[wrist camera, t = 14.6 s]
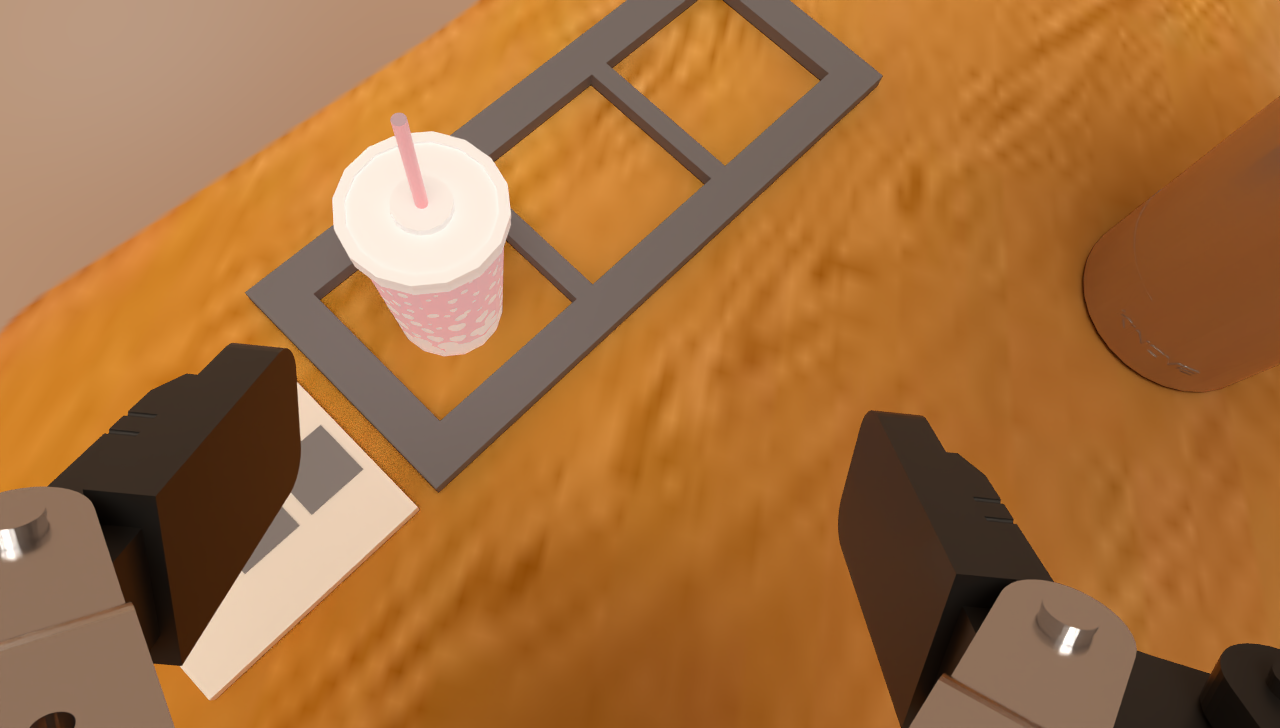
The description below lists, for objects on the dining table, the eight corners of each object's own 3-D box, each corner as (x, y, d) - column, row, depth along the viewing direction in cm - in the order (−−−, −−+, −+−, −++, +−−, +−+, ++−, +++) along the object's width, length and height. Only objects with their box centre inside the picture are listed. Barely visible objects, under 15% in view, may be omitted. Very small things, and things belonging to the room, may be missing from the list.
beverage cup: (537, 349, 38) (530, 180, 25) (400, 390, 37) (317, 236, 24) (496, 231, 40) (470, 15, 27) (364, 266, 39) (268, 59, 26)
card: (292, 377, 37) (287, 372, 36) (419, 509, 35) (417, 506, 35) (83, 547, 34) (74, 545, 33) (215, 699, 32) (208, 700, 32)
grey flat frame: (707, -52, 47) (710, -64, 46) (877, 85, 45) (882, 75, 44) (250, 300, 38) (244, 292, 37) (438, 492, 36) (435, 488, 35)
